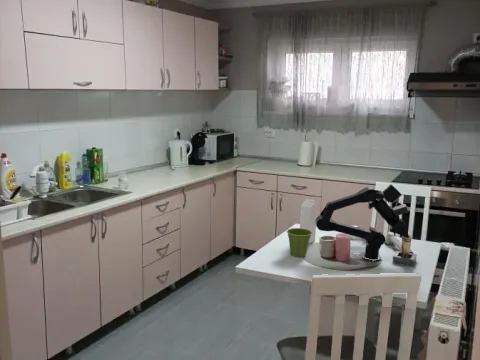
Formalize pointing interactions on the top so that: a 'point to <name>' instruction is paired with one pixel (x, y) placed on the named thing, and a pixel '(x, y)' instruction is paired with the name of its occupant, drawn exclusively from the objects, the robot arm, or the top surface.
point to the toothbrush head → (394, 241)
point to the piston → (405, 247)
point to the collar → (404, 259)
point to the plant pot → (298, 241)
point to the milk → (309, 217)
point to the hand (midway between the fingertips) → (406, 234)
